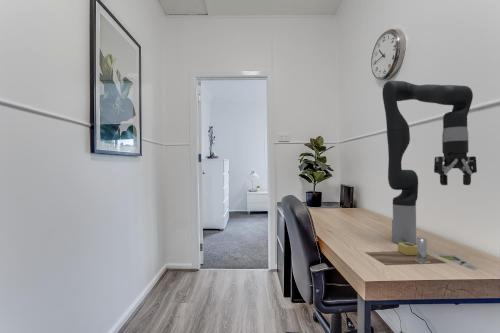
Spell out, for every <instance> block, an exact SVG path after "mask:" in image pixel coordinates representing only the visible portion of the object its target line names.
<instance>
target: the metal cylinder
mask: <svg viewBox="0 0 500 333" xmlns="http://www.w3.org/2000/svg"><path fill="white" fill-rule="evenodd" d="M427 243H428V242H427V238H421V237H419V238H418V237H416V246H417V259H416V261H418V262H420V263H428V261H427V255H428V254H427V253H428V251H427V248H428V245H427Z"/></svg>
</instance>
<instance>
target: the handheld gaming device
mask: <svg viewBox="0 0 500 333" xmlns="http://www.w3.org/2000/svg"><path fill="white" fill-rule="evenodd" d="M434 255H436V256H437V257H440V258H442V259H445V260H448V261H450V262H453V263H455V264H458V265H460V266H463V267H465V268H467V269H470V270H478V267H476V266H475V265H473V264H471V263H469V262H468V261H466V260H464V259H463V258H460V257H459V256H457V255H455V254H439V253H437V254H436V253H435V254H434Z"/></svg>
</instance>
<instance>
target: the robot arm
mask: <svg viewBox="0 0 500 333" xmlns="http://www.w3.org/2000/svg"><path fill="white" fill-rule="evenodd" d="M381 93H382V100H383V106H384V111H385V112H384V113H385V120H386V121H385V122H386V136H387V137H386V138H387V148H388V150H387V151H388V168H387V169H388V170H387V180H388V182H387V183H388V184H389V187H390V188H391V189H392V190H395V191H401V192H400V194H399V195H396V196H395V197H392V219H391V240H392V242H393V243H395V244H398V243H411V244H414V245H417V201H418V197H419V196H418V195H419V194H418V193H419V176H418V174H417V172H415V171H414V170H413V169H402V159H403V156H404V154H405V152H406V150H407V149H408V148H409V147H408V146H409V144H410V141H411V134H410V126H409V124H408V122H407V120H406V119H405V117H404V116H403V115H402V112H400V110H399V107H398V106H399V105H398V102H403V101H410V100H415V101H419V102H423V103H431V104H437V105H443V106H452V110H451V111H448V112H445V113H444V115H443V118H442V135H441V137H442V139H441V141H442V143H441V144H442V148H441V149H442V154H443V156H435V157H434V162H433V163H434V167H433V172H434V173H435V174H438V175H439V183H440V185H441V186H448V183H449V182H448V173H449V172H450V171H451V170H452V169H458V170H459V171H461V173H462V174H463V175H462V184H463V186H470V185H471V184H472V175H473V174H475V173H478V169H477V168H478V167H477V157H476V156H475V155H474V156H473V155H471V156H468V153H469V130H468V115H469V113H470V109H471V106H472V103H473V102H472V101H473V98H474V92H473V91H472V88H471V87H469V86H468V85H467V86H466V85H455V84H414V83H412V82H411V83H410V82H408V81H403V80H388V81H386V82H385V83H384V84H383V87H382V92H381Z"/></svg>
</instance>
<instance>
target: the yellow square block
mask: <svg viewBox="0 0 500 333" xmlns="http://www.w3.org/2000/svg"><path fill="white" fill-rule="evenodd" d="M397 251H399V252H401V253H403V254H405V255H417V244H415V245H414V244H411V243H397Z"/></svg>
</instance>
